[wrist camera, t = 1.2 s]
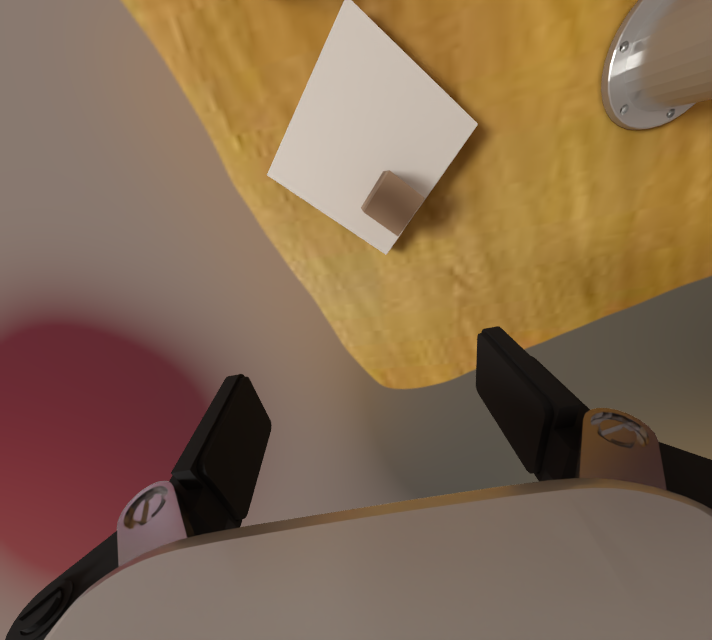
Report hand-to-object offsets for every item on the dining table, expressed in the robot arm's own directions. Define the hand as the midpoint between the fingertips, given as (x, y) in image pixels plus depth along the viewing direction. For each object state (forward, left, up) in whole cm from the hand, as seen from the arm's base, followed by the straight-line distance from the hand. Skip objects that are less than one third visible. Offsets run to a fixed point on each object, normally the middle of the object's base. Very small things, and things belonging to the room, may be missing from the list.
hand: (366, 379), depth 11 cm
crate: (-6, +1, -25) cm, 25 cm away
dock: (-9, -3, -28) cm, 29 cm away
